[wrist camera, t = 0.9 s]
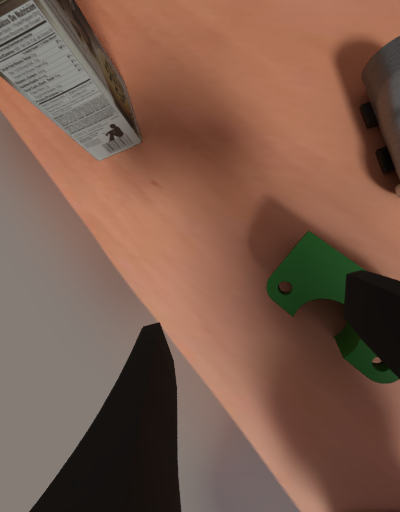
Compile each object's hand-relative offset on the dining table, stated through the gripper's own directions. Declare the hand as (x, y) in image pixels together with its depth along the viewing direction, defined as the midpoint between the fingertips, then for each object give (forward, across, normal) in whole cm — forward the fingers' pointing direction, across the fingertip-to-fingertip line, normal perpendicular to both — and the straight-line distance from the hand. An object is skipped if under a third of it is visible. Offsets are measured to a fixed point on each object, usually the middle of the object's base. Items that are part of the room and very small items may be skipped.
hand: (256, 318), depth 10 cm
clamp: (+10, -10, +10) cm, 18 cm away
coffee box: (+30, +7, -9) cm, 32 cm away
